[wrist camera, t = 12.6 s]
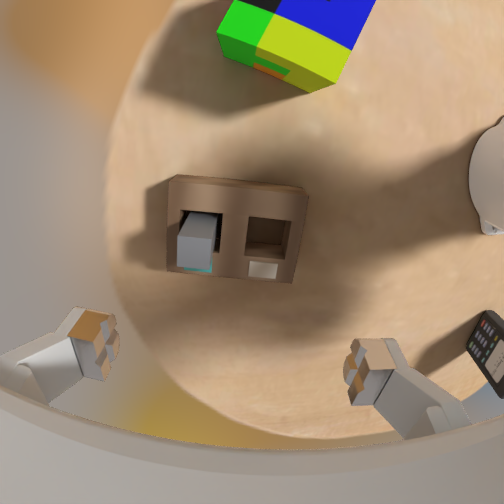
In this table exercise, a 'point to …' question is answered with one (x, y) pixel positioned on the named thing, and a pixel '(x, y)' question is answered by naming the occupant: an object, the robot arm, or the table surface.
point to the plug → (197, 240)
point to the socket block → (239, 225)
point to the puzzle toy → (294, 37)
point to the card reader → (489, 349)
